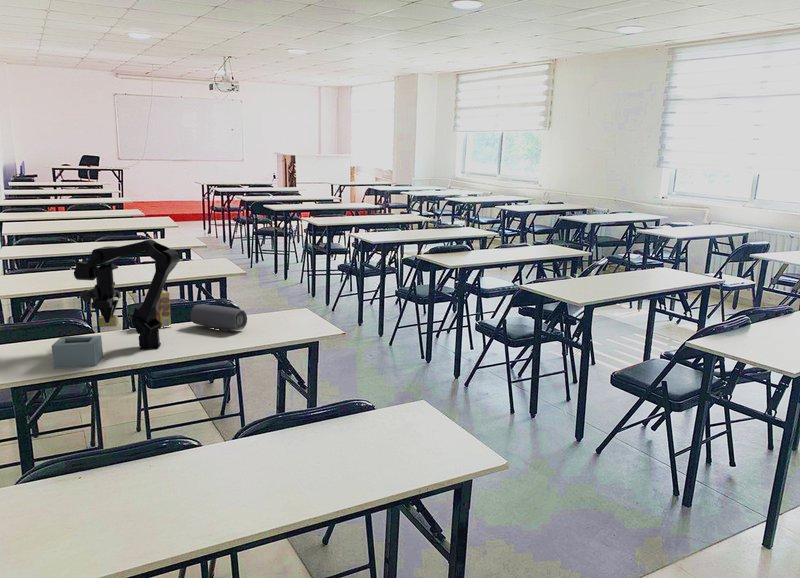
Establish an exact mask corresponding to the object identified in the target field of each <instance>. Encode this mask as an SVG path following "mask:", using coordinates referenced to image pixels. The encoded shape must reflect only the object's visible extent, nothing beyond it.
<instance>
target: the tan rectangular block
mask: <svg viewBox="0 0 800 578" xmlns="http://www.w3.org/2000/svg"><path fill="white" fill-rule="evenodd" d="M118 316H119V315H118V314H113V315H111V317H110V321H109V323H106V322H105V320H104V318H103V315H100V316H99V317H98V327H99V328H105V327H109V328H110V327H118V325H119V317H118Z"/></svg>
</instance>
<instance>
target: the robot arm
mask: <svg viewBox="0 0 800 578" xmlns="http://www.w3.org/2000/svg"><path fill="white" fill-rule="evenodd" d="M143 252H144V253H146V254H147V255H148V256H149V257H150V258H151V259H152V260H154V261H155V263H154V267H155V268H154V269H155V272H154V274H153V277H152V279H151V282H150V285H149V287H148V290H147V293H146V295H145V297H144V300H143V302H142V304H140V305H138V306H136V307H134V309H133V313H132V315H131V316H130V318H131V324H132V326H133V327H134V329H135V331H136V333H137V335H138V345H139V346H138V347H139V350H140V351H141V350H156V349H159V348H160V346H161V344H162V343H161V341H160V339H161V338H160V329H162V328H161V325H162V323H161V322H160V321H159V320H158V319H157V318H156V305H157V302H158V300H159V297H160V295H161V292H162V290H164V287H165V284H166V281H167V280H168V277H169V275H170V273H171V272H172V271H173V270H174V269H175V267H176V266H177V264H178V263H179V262H180V259H181V258H180V254H179V252H178V251H177V250H175V249H172V248H169V247H168V246H166V245H163V244H161V243H160V242H159V243H158V242H157V241H155V240H154V239H151V238H150V239H145V240H143V241H142V240H141V241H140V242H139V241H138V242H134V243H129V244H125V245H120V246H116V245H115V246H114V245H113V246H112V245H111V246H110V245H109V246H102V247H98V248H94V249H93V250H91V253H90V254H91V255H90V257H89V258H88V260H87V262H85V261H77V262H76V266H75V267H74V271H73V277H74V278H75V279H76V281H95V280H96V281H95V282H96V284H95V285H94V287H92V288H89V289H84V290H82V291H81V292H80V294H79V295H80V299H81V300H83V301H82V302H84V303H85V302H87V301H88V300H89V301H90V300H92V299H94V300H93V301H92V302H91V303H90V308H91V309H93V310H96V309H97V310H99V311H100V312H101V316H103V318H104V320H105V322H106V323H109V321H110V317H111V315H115V314H114V313H115V311H116V308H117V305H118V303H119V301H120V300H119V299H120V298H122V293H121V291H120V290H117V289H115V285H116V281H114V271H113V270H116V269H117V270H118V269H119V266H118V265H117V264H115V263H114V262H112V261H115V260H117V259H119V258H120V257H124V256H129V255H133V254H137V253H143ZM109 262H110V263H109ZM106 263H108V264H106ZM99 265H100V266H99ZM115 298H117V299H115Z"/></svg>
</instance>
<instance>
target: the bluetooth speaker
mask: <svg viewBox="0 0 800 578" xmlns="http://www.w3.org/2000/svg"><path fill="white" fill-rule="evenodd" d="M189 317H190V320H191V322H192V323H193V324H196V325H198V326H204V327H207V328H208V327H209V328H214V329H219V330H224V331H223V332H230V331H231V330H232V331H241V330H243V329H245V327H246V326H247V323H248V316H247V312H245V310H244V309H243V310H242V309H240V308H236V307H235V308H234V307H228V306H222V305H212V304H196V305H194V306H193V307H192V308H191V312H190V316H189ZM219 330H218V331H219ZM229 330H230V331H229Z"/></svg>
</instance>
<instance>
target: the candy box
mask: <svg viewBox="0 0 800 578" xmlns="http://www.w3.org/2000/svg"><path fill="white" fill-rule="evenodd" d="M170 298H171V297H170V291H167V290H165V289H163V290H162V292H161V295H160V297H159V300H158V302H157V305H156V318H157V319H158V320H159V321H160V322H161V323H162V325H161V327H164V326H169V325H171V326H172V321H171V303H170V302H171V299H170Z"/></svg>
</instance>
